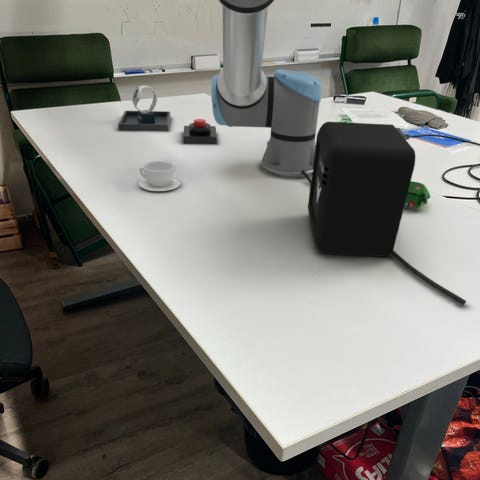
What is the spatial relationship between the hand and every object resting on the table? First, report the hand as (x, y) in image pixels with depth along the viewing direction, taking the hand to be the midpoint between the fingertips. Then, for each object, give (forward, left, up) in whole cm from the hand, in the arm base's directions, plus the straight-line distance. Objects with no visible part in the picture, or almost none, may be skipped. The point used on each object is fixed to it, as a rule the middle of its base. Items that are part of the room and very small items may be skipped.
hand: (243, 55), depth 128 cm
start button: (+9, +12, -21) cm, 26 cm away
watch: (+25, +30, -24) cm, 46 cm away
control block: (+9, +12, -24) cm, 29 cm away
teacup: (-31, +22, -25) cm, 45 cm away
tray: (+25, +30, -24) cm, 46 cm away
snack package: (-41, -33, -25) cm, 58 cm away
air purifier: (-58, -17, -25) cm, 65 cm away
